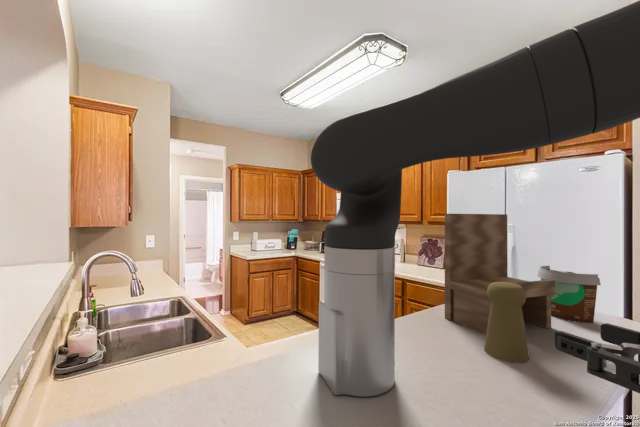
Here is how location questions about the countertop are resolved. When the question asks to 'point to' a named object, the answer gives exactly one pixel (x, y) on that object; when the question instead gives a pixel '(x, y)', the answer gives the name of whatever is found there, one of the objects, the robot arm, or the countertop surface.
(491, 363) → the countertop surface
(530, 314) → the wooden chair
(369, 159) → the robot arm
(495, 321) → the cork
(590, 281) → the food container
